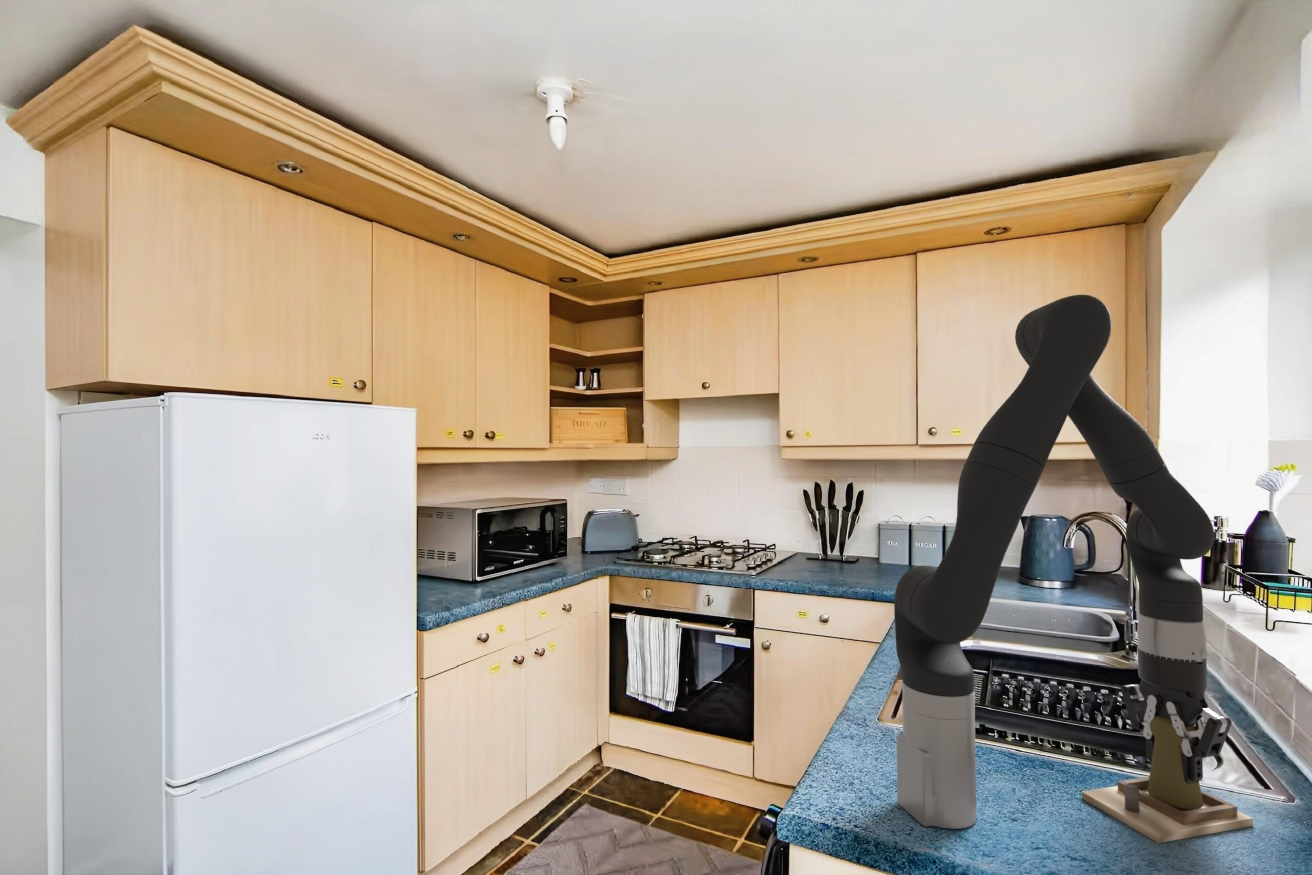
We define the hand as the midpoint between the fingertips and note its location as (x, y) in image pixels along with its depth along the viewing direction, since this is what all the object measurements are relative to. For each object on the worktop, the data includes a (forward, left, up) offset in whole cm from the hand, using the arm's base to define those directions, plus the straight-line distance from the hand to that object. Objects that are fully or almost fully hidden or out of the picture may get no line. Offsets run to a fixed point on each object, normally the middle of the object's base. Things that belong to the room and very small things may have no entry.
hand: (1173, 773), depth 89 cm
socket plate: (-2, 0, -5) cm, 5 cm away
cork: (0, 0, -3) cm, 3 cm away
